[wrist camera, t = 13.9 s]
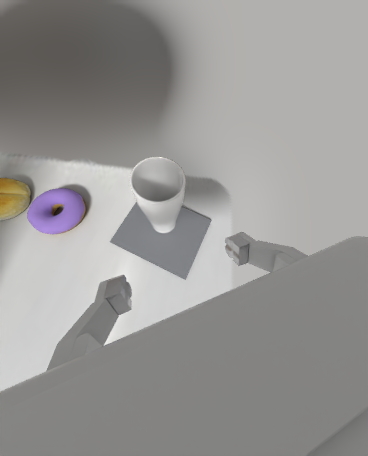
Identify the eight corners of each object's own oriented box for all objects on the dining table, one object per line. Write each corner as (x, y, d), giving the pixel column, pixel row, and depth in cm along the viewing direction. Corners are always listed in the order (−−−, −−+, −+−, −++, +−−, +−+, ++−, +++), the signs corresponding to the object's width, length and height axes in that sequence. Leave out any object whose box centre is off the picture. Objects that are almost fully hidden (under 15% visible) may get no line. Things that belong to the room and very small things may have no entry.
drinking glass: (144, 212, 31) (122, 161, 17) (174, 205, 32) (176, 151, 18) (152, 241, 29) (135, 210, 15) (183, 232, 30) (194, 196, 16)
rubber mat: (110, 242, 29) (109, 241, 28) (145, 190, 33) (145, 189, 33) (185, 279, 28) (185, 279, 28) (210, 221, 33) (211, 220, 32)
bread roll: (-17, 223, 28) (-46, 216, 24) (-5, 185, 31) (-30, 173, 27) (29, 219, 29) (8, 211, 25) (37, 183, 32) (18, 170, 28)
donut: (65, 245, 28) (40, 237, 23) (38, 226, 30) (10, 215, 26) (99, 206, 31) (82, 192, 27) (72, 192, 34) (53, 177, 29)
